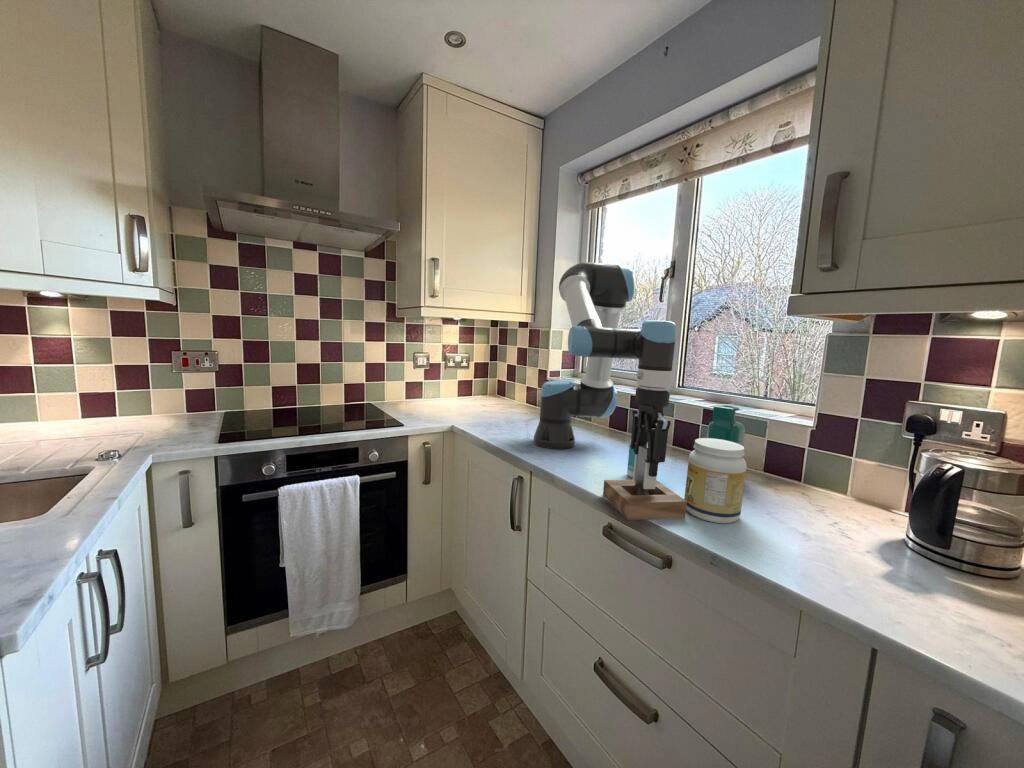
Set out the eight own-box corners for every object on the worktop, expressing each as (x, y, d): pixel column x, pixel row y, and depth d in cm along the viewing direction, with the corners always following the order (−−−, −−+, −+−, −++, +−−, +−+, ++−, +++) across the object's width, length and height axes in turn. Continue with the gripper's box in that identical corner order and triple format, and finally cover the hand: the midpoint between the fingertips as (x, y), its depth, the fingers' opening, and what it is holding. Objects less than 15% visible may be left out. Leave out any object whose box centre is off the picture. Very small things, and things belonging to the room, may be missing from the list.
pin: (630, 500, 101) (636, 444, 99) (644, 499, 101) (650, 444, 100) (637, 507, 97) (643, 449, 95) (652, 506, 98) (658, 449, 96)
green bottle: (710, 471, 128) (718, 402, 126) (740, 479, 123) (749, 406, 120) (698, 478, 122) (707, 404, 119) (729, 486, 116) (739, 409, 113)
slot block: (602, 495, 105) (604, 480, 104) (653, 493, 107) (654, 479, 107) (627, 520, 91) (629, 502, 91) (685, 518, 94) (687, 501, 93)
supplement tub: (682, 499, 105) (689, 434, 103) (735, 508, 101) (744, 440, 99) (683, 518, 94) (691, 445, 91) (744, 530, 89) (753, 454, 87)
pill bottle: (655, 482, 116) (659, 435, 114) (627, 479, 118) (632, 433, 116) (651, 473, 123) (655, 429, 122) (626, 470, 125) (629, 427, 123)
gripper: (621, 382, 103) (613, 472, 106) (658, 393, 86) (647, 499, 89) (648, 383, 105) (640, 471, 108) (690, 394, 88) (679, 498, 91)
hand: (643, 484), depth 99 cm, fingers open, 4 cm apart
